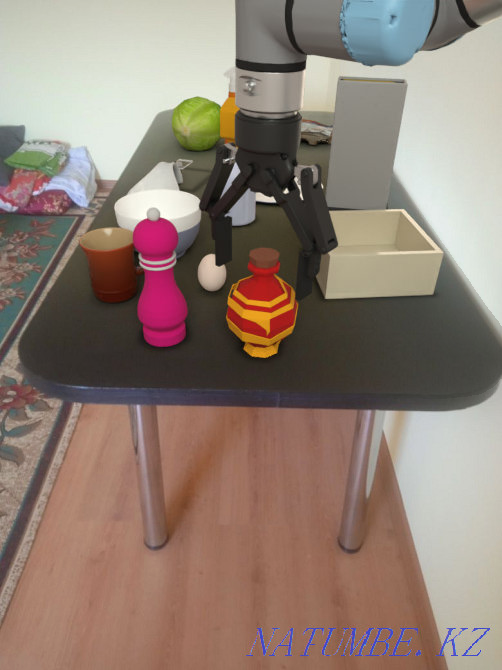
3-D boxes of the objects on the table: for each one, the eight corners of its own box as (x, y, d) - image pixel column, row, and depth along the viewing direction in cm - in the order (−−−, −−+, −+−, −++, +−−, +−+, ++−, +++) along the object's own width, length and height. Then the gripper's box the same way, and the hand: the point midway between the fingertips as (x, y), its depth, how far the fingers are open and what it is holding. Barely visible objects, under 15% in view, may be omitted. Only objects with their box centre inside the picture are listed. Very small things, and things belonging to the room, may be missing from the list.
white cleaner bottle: (260, 214, 117) (264, 97, 103) (246, 229, 110) (248, 105, 96) (224, 208, 119) (222, 93, 105) (208, 223, 112) (204, 101, 98)
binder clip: (183, 183, 133) (182, 161, 130) (169, 181, 134) (167, 160, 131) (193, 175, 138) (192, 155, 135) (179, 174, 139) (178, 153, 136)
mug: (92, 312, 82) (81, 253, 77) (86, 286, 89) (76, 230, 83) (166, 299, 86) (161, 243, 80) (155, 275, 93) (150, 222, 87)
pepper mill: (136, 326, 79) (119, 201, 68) (182, 318, 81) (173, 195, 70) (145, 353, 74) (129, 222, 62) (194, 343, 76) (187, 214, 64)
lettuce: (215, 157, 148) (165, 159, 153) (238, 138, 166) (193, 140, 171) (207, 103, 140) (155, 107, 145) (232, 88, 158) (185, 92, 163)
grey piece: (245, 142, 165) (246, 125, 162) (262, 127, 182) (262, 110, 179) (339, 151, 159) (341, 133, 156) (347, 134, 176) (349, 117, 173)
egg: (232, 290, 89) (232, 255, 85) (210, 300, 86) (209, 264, 82) (214, 280, 92) (213, 245, 88) (192, 289, 89) (190, 254, 85)
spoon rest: (173, 222, 112) (171, 190, 108) (121, 219, 113) (117, 187, 109) (195, 184, 131) (194, 155, 127) (151, 181, 132) (148, 153, 128)
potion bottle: (308, 340, 77) (317, 249, 68) (273, 378, 70) (279, 281, 61) (249, 319, 82) (250, 231, 73) (210, 352, 74) (207, 258, 66)
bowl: (120, 273, 93) (113, 223, 88) (120, 236, 106) (114, 191, 100) (208, 266, 96) (206, 217, 90) (198, 231, 108) (196, 187, 103)
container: (323, 217, 122) (311, 79, 106) (404, 211, 118) (405, 65, 101) (321, 230, 116) (308, 85, 100) (406, 224, 112) (408, 71, 95)
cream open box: (433, 294, 89) (443, 252, 84) (325, 299, 87) (330, 256, 82) (396, 246, 104) (403, 209, 100) (304, 249, 102) (307, 211, 98)
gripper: (165, 98, 61) (176, 259, 73) (349, 138, 48) (325, 325, 61) (208, 89, 66) (212, 242, 78) (386, 124, 53) (356, 299, 65)
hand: (261, 278), depth 69 cm, fingers open, 13 cm apart
